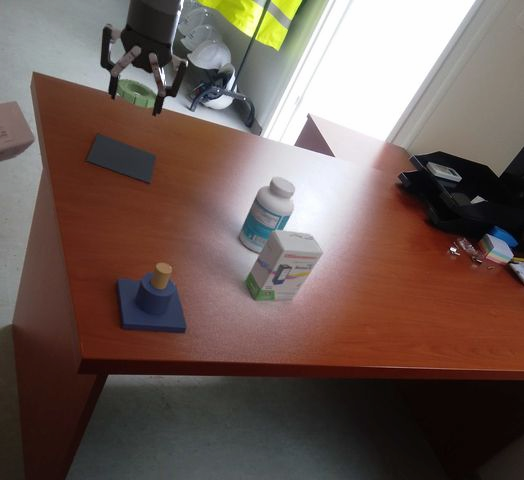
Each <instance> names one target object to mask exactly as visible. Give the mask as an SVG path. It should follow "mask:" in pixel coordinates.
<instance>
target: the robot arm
mask: <svg viewBox="0 0 524 480" xmlns="http://www.w3.org/2000/svg"><path fill="white" fill-rule="evenodd" d="M183 5H184V0H129V5H128V10H127V15H126V16H127V17H126V21H125V26H124V28H123V29H122V30H121V29H119V28H116V27H113V25H112V24H111V23H106V24H105V25H104V27H103V28H102V34H101V48H100V59H99V64H100V67H101V68H102V69H105V70H106V71H107V72H108V73H109V76H110V78H109V82H108V88H107V93H108V95H111V96H110V99H111V100H113V101H116V99H117V96H118V93H117V86H118V82H119V80H120V79H121V76H122V75H121V73H122V72H123V71H124V70H126V68H127V67H129V65H130V64H131V65H132V67H134V68H136V69H141V70H143V71H144V72H145V73H147V74H150V75H153V79H154V82H155V84H156V88H157V93H156V95H157V97H156V101H155V105H154V107H153V108H152V113H151V116H153V117H155V118H156V117H157V115H160V114H161V113H162V111H163V106H164V103H165V99H166V98H167V97H171V98H173V99H175V98H177V96H178V93H179V90H180V88H181V86H182V82H183V79H184V78H185V75H186V71H187V68H188V64H189V62H188V59H187V58H185V57H182V58H181V57H179V56H177V55H176V54H174V51H173V44H174V41H175V36H176V33H177V28H178V25H179V20H180V17H181V13H182V11H183ZM118 39H120V42H121V44H122V46H123V47H122V48H123V49H124V53H123V54H122V56H120V58H119V59H118V60H116V62H115V63H114V61H112V60H111V56H112V46H113V45H114V44H116V42H117V40H118ZM170 63H172V64H173V67H172V69H173V71H174V72H175V75H174V77H173V81H172V82H171V83H172V84H171V85H167V82H166V78H165V72H164V68H165V66H167V65H168V64H170Z"/></svg>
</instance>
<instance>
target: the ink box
mask: <svg viewBox="0 0 524 480" xmlns="http://www.w3.org/2000/svg"><path fill="white" fill-rule="evenodd" d="M323 251H324V250H322V248H321V246H320V245H319V243H318V242H317V240H316V239H315V237H314V235H312V234H311V233H309V232H300V231H291V230H284V229H283V230H275V231H272V232H271V234H270V236H269V238H268V240H267V241H266V243H265V245H264V247H263V249H262V251H261V252H260V253H258V256H257V258H256V260H255V261H254V263H253V266H252V267H251V269H250V271H249V273H248V275H247V277H246V278H245V280H244V282H245V285H246V286H247V288H248V290H249V292H250V294H251V296H252V297H253V299H254V300H255V301H279V300H280V301H282V300H283V301H284V300H294V299H295V297H296V296H297V294H298V293H299V291H300V290H301V289H302V287H303V285H304V283H305V282H306V281H307V279H308V278H309V276H310V274H311V273H312V271H313V269H315V267H316V266H317V263H318V262H319V261H320V258H321V257H322V256H323V254H324V252H323Z"/></svg>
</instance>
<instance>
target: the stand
mask: <svg viewBox="0 0 524 480" xmlns="http://www.w3.org/2000/svg"><path fill="white" fill-rule="evenodd" d="M153 270H154V271H151V272H146V273H145V274H144V275H143V276H142V277H141V279H140V280H137V279H127V278H120V277H118V278H117V279H116V293H117V301H118V308H119V315H120V322H121V329H122V330H133V331H147V332H150V331H151V332H162V333H176V334H177V333H179V334H185V333H186V331H187V323H186V319H185V318H186V317H185V315H184V311H183V307H182V302H181V298H180V294H179V290H178V286H177V284H175V283H174V281H173V280H172V279H171V278H170V277H171V274H172V272H173V269H172V267H171V265H170V264H168V263H165V262H158V263H156V265H155V268H154V269H153Z"/></svg>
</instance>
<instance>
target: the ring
mask: <svg viewBox="0 0 524 480" xmlns="http://www.w3.org/2000/svg"><path fill="white" fill-rule="evenodd" d="M117 95H118V96H119V97H120V99H122V100H124V101H126V102H127V103H130V104H131V105H134V106H135V107H139V108H144V109H154V105H155V101H156V97H157V93H156V92H155V91H154V90H153V89H151V88H150V87H149V86H147V85H146V84H144V83H140V82H139V81H136V80H132V79H128V78H122V79H121V78H120V80H119V82H118V86H117Z"/></svg>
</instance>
